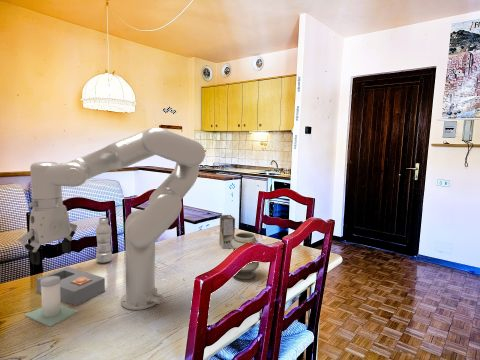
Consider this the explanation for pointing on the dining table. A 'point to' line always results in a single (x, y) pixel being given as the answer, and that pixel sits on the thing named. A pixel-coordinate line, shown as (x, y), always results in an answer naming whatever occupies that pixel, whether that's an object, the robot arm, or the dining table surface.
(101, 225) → the plastic bottle
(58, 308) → the cylinder
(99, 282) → the housing
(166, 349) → the dining table surface
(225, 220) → the coffee box
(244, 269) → the apothecary jar
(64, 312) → the mat
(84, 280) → the square push button
